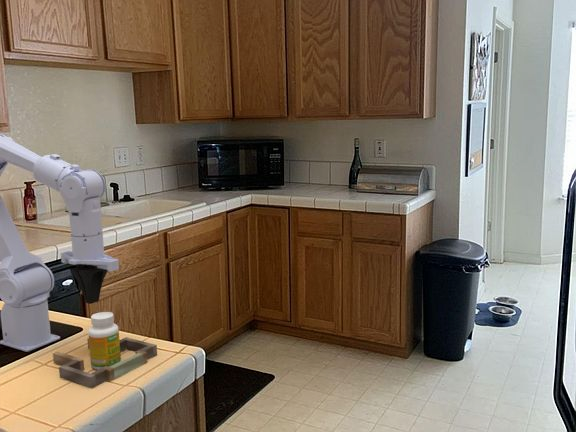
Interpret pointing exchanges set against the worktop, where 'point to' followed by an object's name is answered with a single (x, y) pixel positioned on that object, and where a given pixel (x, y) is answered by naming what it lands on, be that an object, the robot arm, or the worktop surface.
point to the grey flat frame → (75, 365)
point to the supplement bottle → (104, 341)
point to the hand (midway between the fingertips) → (92, 302)
